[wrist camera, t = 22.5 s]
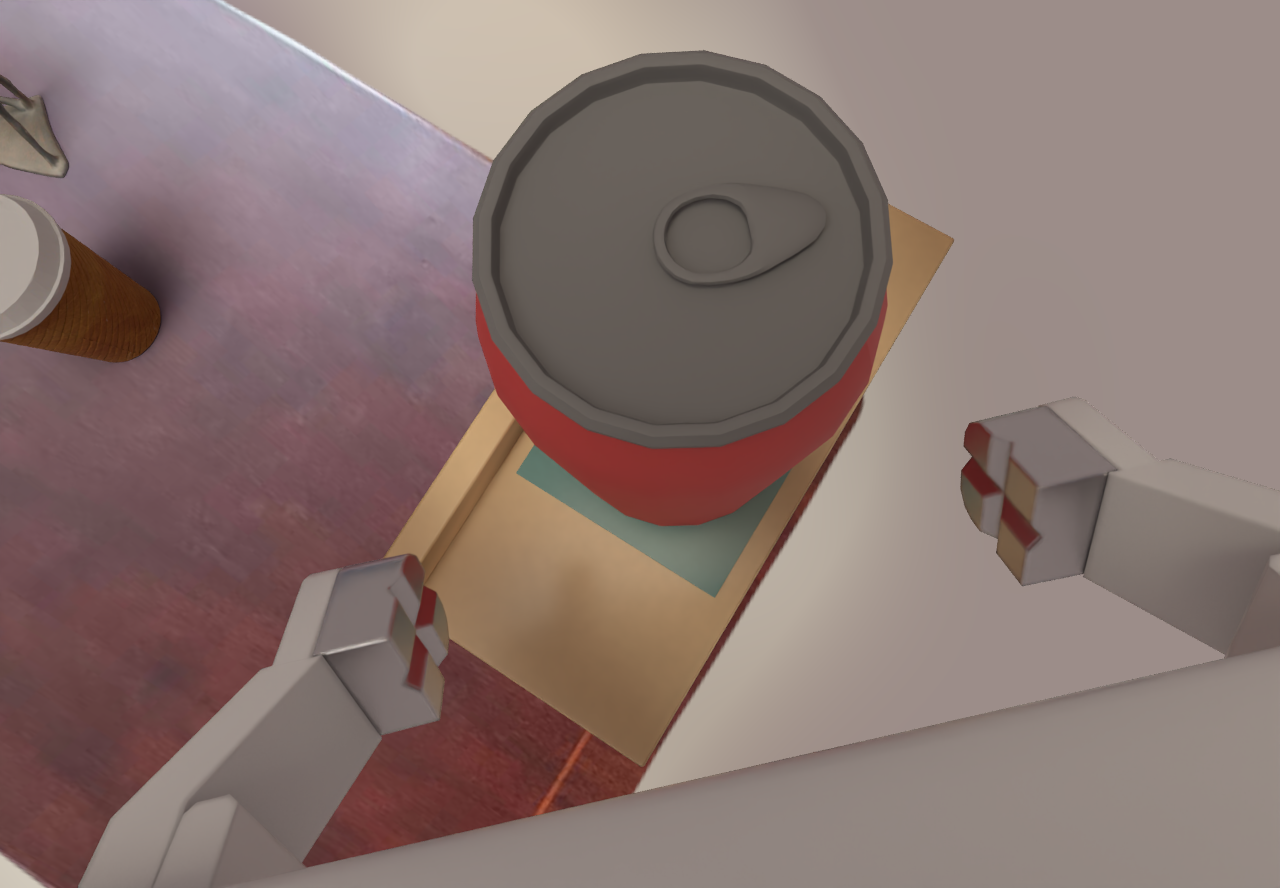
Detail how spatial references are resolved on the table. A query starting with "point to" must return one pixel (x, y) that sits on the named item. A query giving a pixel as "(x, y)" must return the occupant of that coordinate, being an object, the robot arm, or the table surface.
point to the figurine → (28, 136)
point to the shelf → (608, 558)
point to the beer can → (681, 280)
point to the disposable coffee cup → (67, 291)
